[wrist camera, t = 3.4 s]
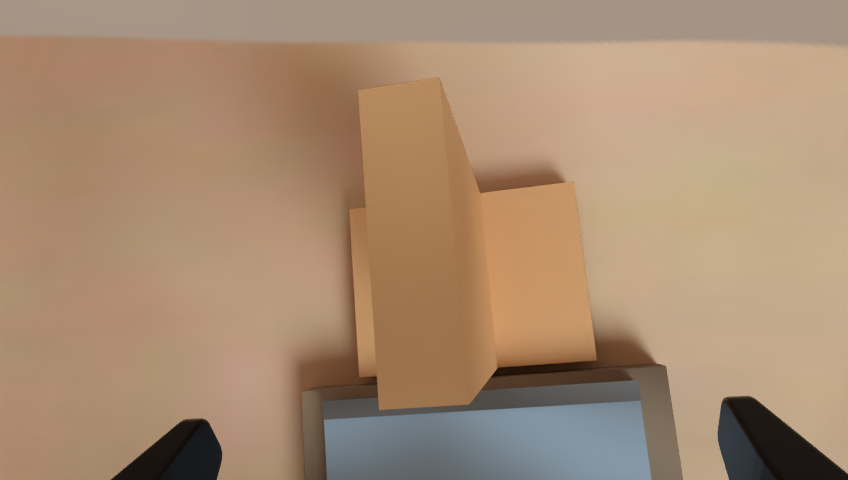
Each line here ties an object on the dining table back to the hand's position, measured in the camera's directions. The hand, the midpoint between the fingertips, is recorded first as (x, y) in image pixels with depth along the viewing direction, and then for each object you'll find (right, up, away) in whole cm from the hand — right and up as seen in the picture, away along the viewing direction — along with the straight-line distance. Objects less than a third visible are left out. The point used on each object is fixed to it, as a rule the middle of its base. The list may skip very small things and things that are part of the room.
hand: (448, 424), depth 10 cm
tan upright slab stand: (+1, +2, +10) cm, 10 cm away
